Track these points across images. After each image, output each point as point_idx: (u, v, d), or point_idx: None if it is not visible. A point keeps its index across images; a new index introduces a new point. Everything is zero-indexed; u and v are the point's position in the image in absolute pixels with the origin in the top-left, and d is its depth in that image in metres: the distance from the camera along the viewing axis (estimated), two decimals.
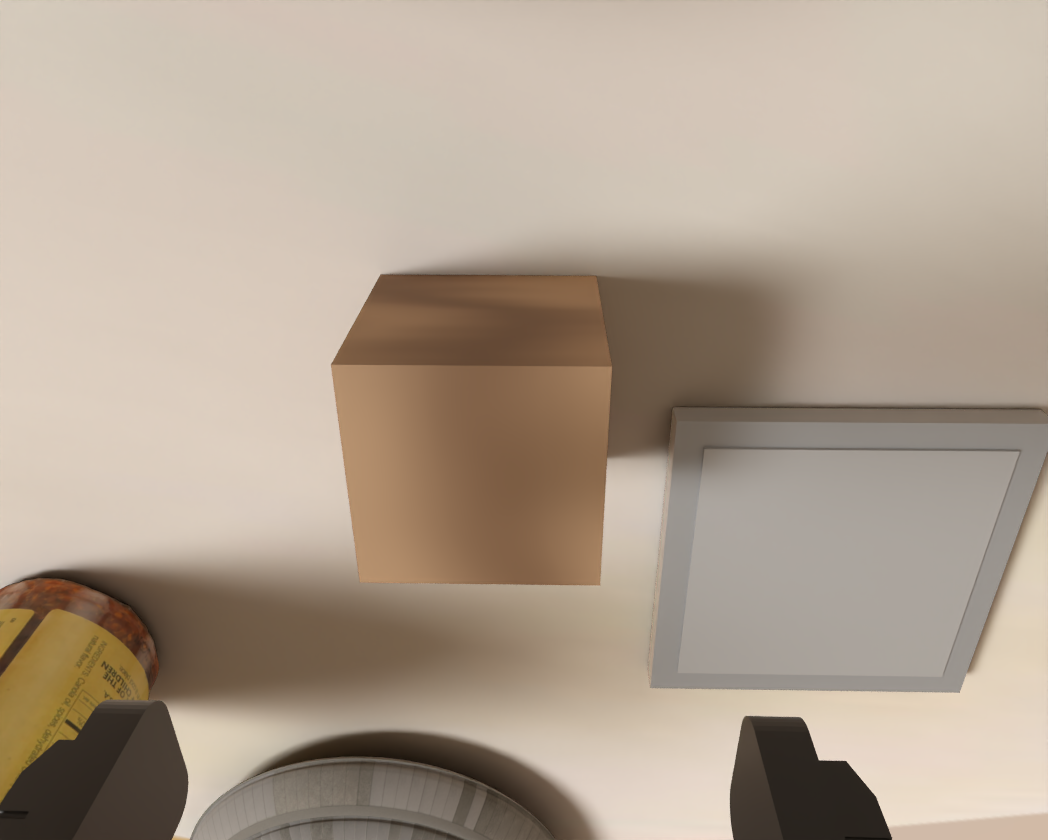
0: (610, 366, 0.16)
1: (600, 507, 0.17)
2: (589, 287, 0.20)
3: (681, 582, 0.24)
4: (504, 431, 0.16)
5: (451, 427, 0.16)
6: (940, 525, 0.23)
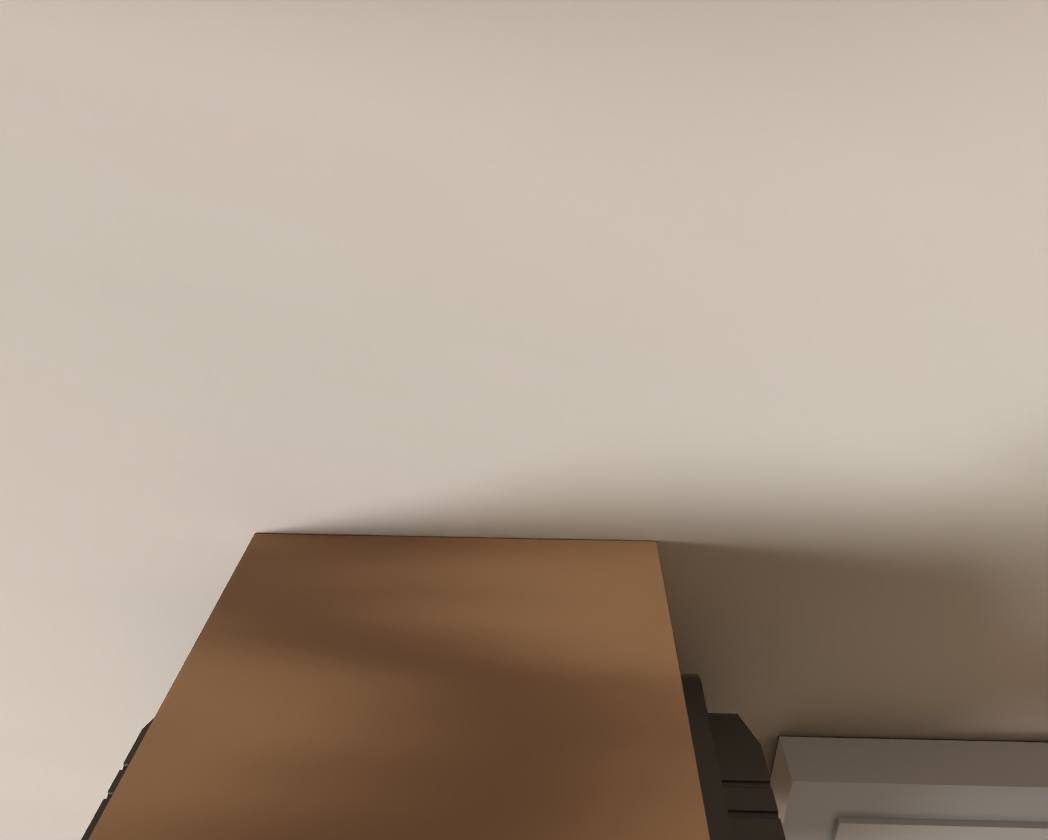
0: None
1: None
2: (647, 588, 0.10)
3: None
4: None
5: None
6: None
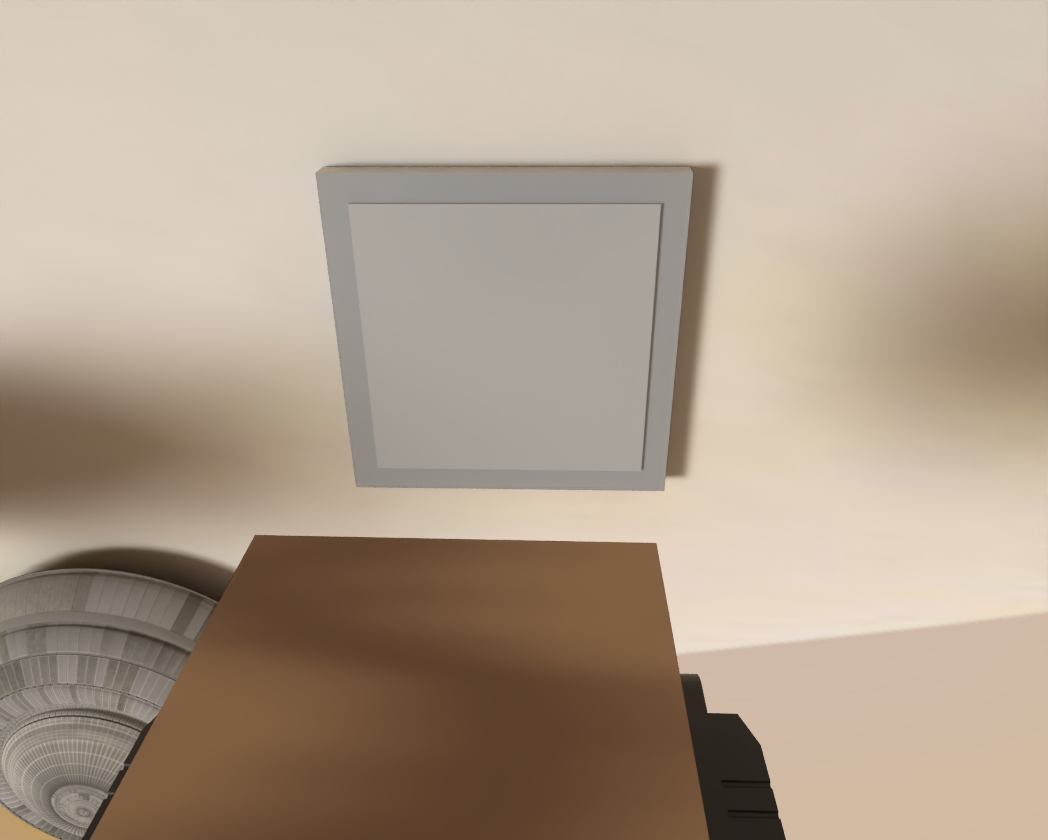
0: None
1: None
2: (647, 590, 0.10)
3: (360, 362, 0.24)
4: None
5: None
6: (600, 291, 0.22)
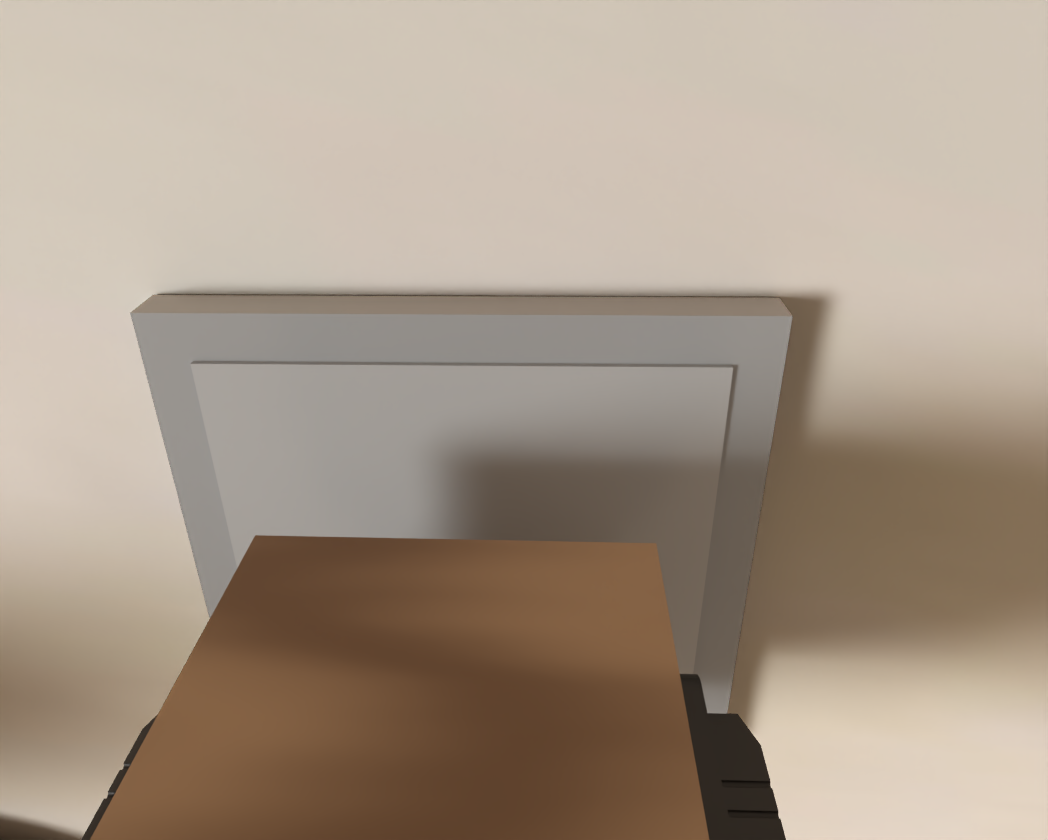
0: None
1: None
2: (647, 590, 0.10)
3: None
4: None
5: None
6: (625, 499, 0.13)
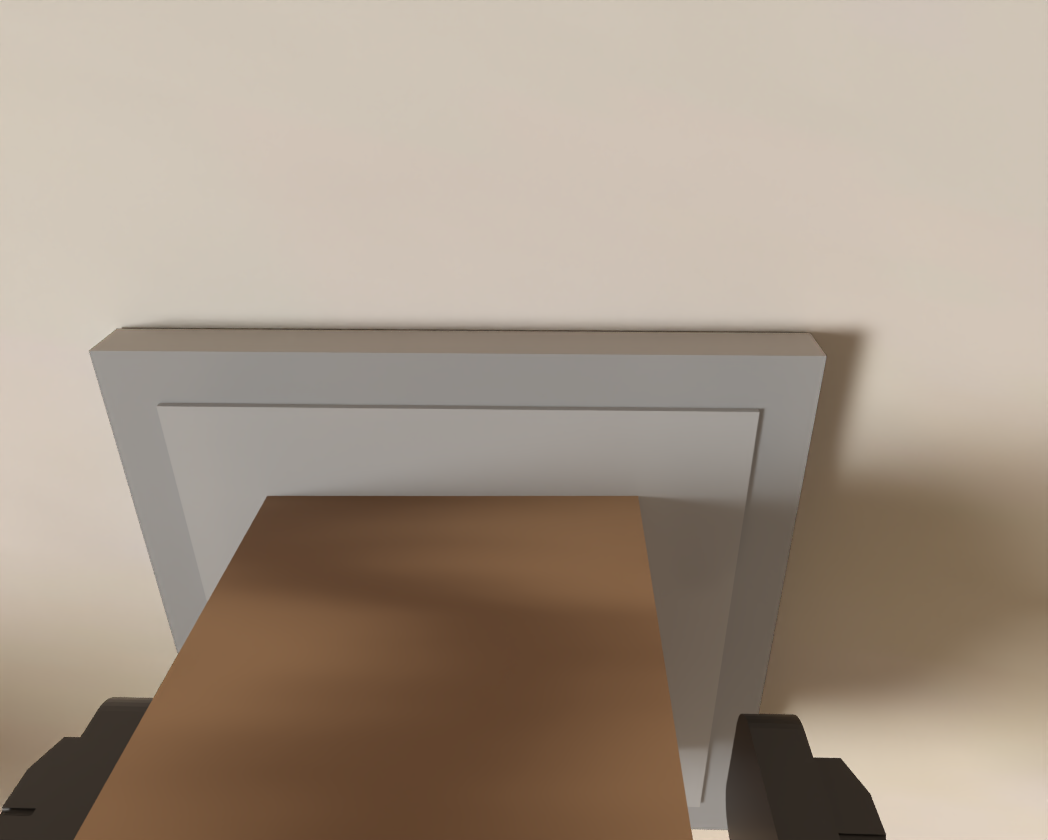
0: None
1: None
2: (628, 536, 0.11)
3: None
4: None
5: None
6: None
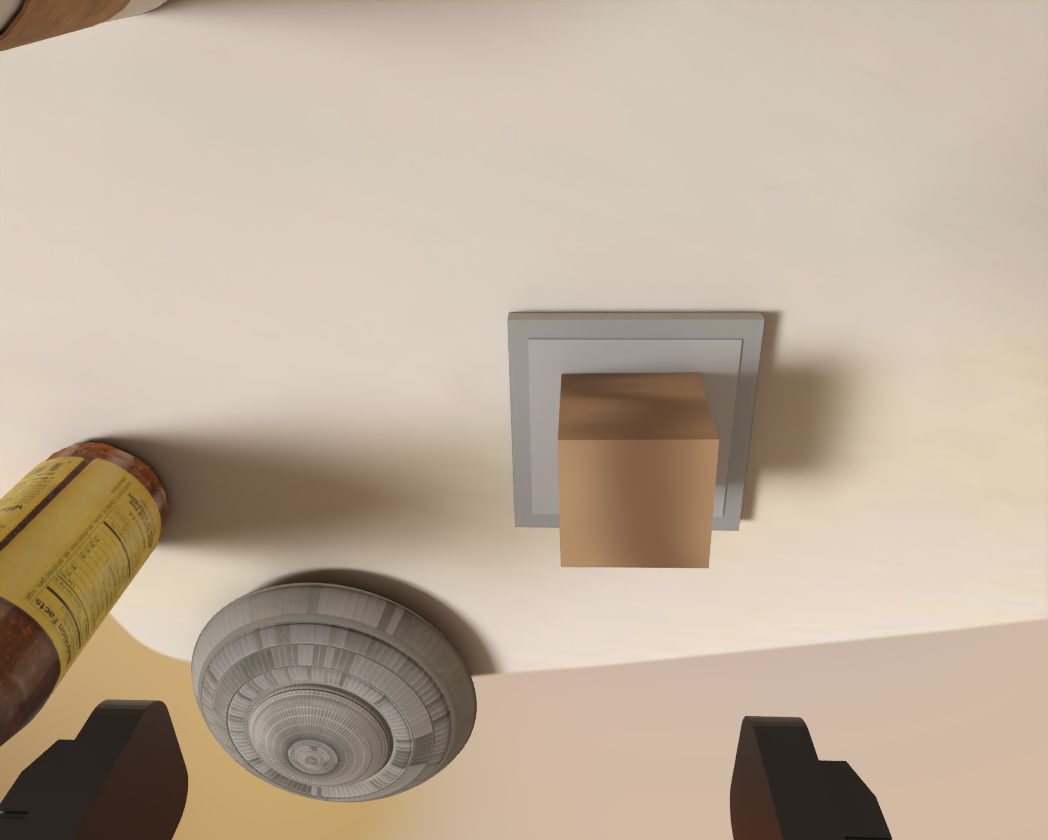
0: (718, 438, 0.27)
1: (710, 520, 0.29)
2: (696, 382, 0.31)
3: (526, 441, 0.34)
4: (655, 476, 0.28)
5: (623, 474, 0.28)
6: None
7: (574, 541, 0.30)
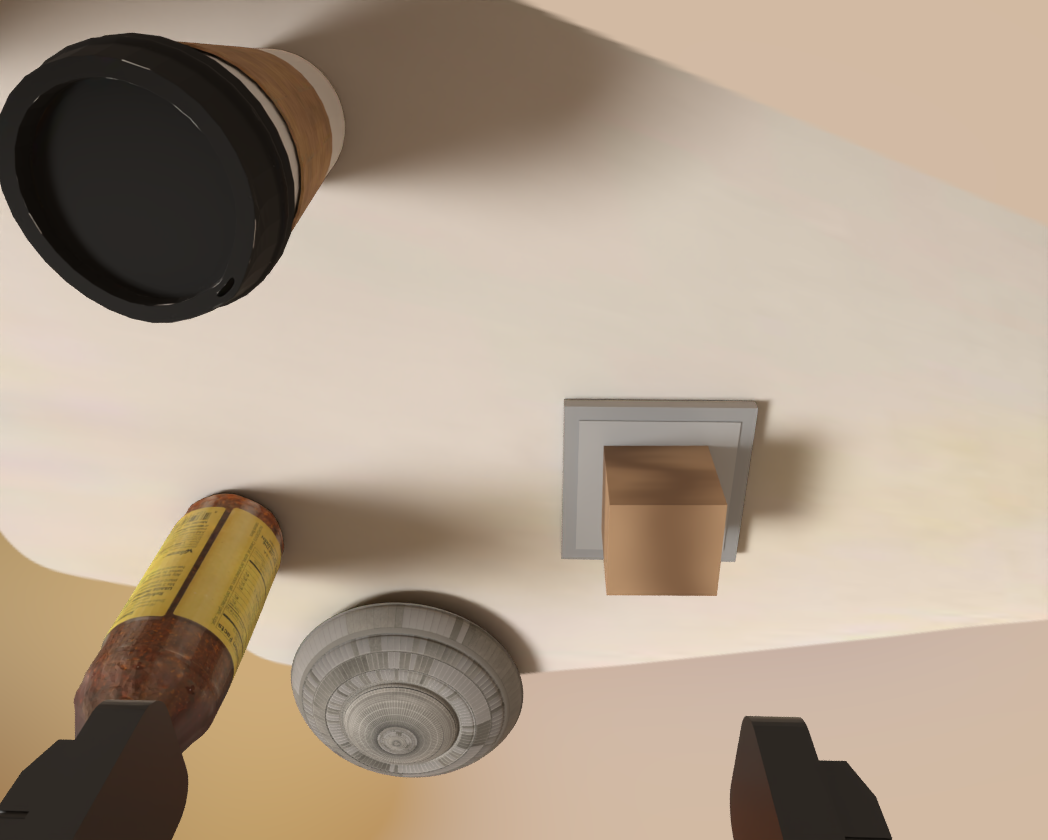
0: (726, 504, 0.38)
1: (719, 561, 0.39)
2: (706, 455, 0.41)
3: (573, 495, 0.44)
4: (679, 530, 0.38)
5: (656, 529, 0.38)
6: None
7: (617, 576, 0.40)
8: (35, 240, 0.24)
